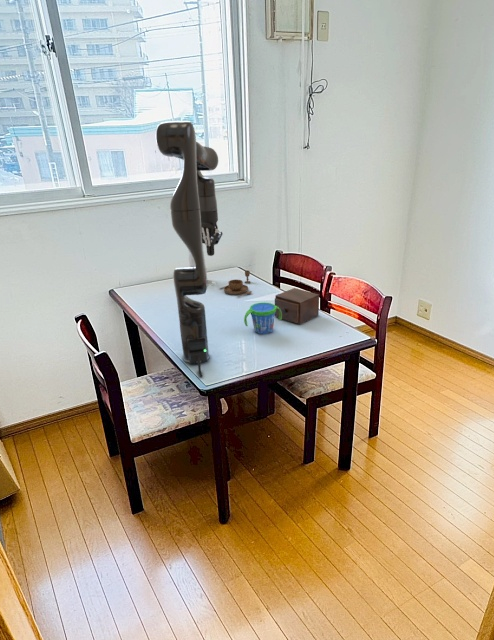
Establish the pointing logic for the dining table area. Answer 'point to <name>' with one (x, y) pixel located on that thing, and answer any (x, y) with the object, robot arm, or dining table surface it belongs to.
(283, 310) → the drawer
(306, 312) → the cabinet
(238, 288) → the place setting
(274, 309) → the snack cup
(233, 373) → the dining table surface
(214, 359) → the dining table surface
